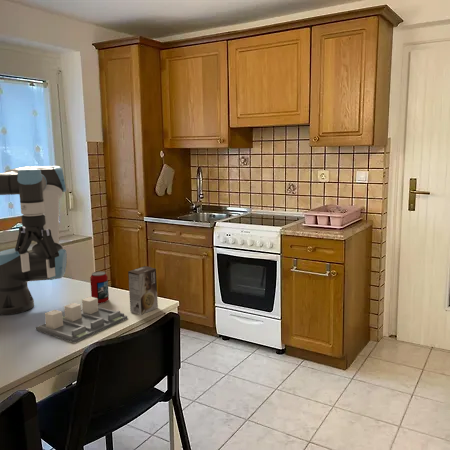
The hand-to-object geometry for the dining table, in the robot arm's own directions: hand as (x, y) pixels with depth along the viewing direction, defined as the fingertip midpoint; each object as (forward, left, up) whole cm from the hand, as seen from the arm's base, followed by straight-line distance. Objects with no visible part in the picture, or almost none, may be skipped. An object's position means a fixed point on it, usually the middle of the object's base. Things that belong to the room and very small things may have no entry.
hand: (38, 274), depth 158 cm
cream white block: (+8, +15, -17) cm, 24 cm away
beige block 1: (+8, -1, -18) cm, 19 cm away
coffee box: (+22, +29, -19) cm, 41 cm away
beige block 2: (+8, +7, -17) cm, 20 cm away
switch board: (+13, +7, -19) cm, 24 cm away
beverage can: (0, +27, -19) cm, 33 cm away
